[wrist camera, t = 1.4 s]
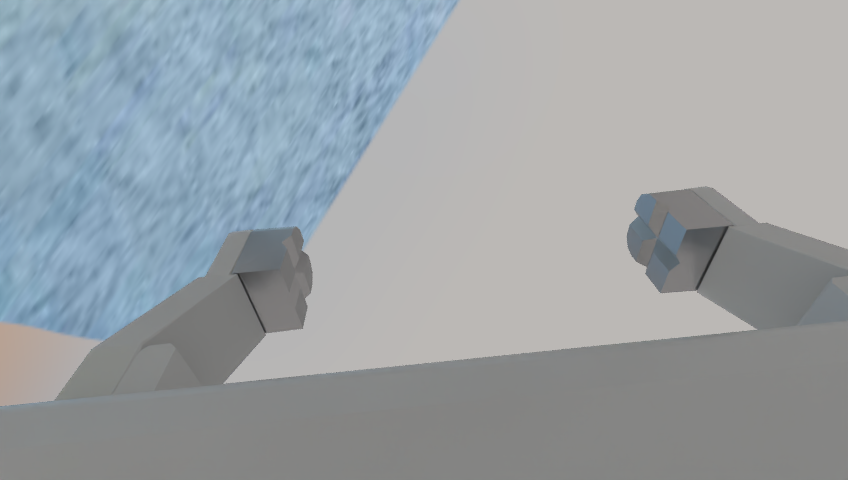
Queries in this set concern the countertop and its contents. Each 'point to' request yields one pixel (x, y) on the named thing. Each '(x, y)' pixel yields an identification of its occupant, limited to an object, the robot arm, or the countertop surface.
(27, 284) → the countertop surface
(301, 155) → the countertop surface
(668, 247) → the robot arm
